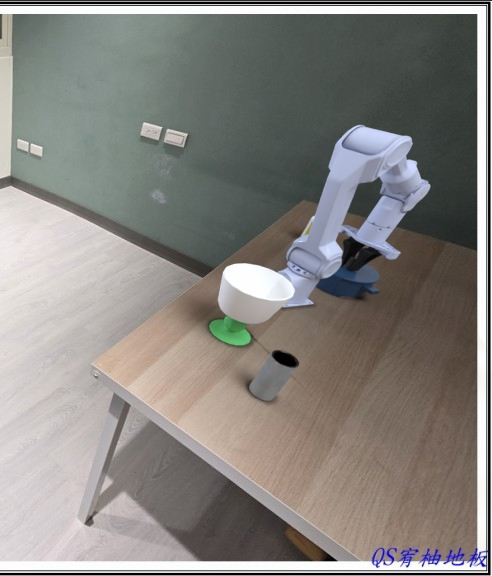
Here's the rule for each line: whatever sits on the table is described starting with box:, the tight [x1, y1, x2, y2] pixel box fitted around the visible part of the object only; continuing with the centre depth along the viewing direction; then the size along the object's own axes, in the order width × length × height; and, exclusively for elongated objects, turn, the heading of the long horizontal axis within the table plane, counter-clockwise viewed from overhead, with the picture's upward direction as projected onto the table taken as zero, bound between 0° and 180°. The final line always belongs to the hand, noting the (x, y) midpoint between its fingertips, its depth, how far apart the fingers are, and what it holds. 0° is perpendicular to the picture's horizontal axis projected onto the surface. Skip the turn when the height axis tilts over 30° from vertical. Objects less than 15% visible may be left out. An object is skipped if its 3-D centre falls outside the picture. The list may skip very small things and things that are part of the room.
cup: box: [208, 262, 295, 347], centre depth 86 cm, size 14×14×16 cm
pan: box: [315, 275, 381, 298], centre depth 105 cm, size 12×18×5 cm
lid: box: [333, 254, 381, 284], centre depth 102 cm, size 13×13×5 cm
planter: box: [248, 349, 300, 402], centre depth 74 cm, size 4×4×10 cm
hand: (349, 267), depth 103 cm, fingers closed on lid, 2 cm apart
